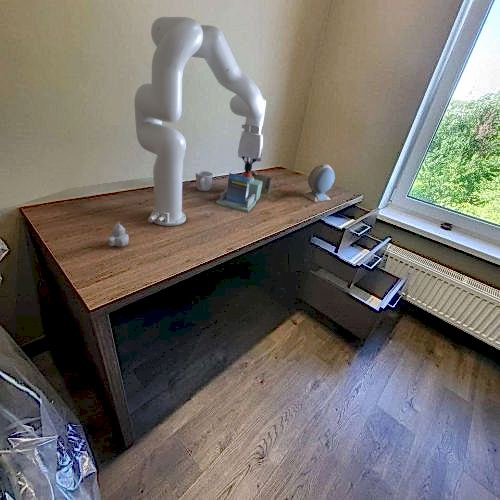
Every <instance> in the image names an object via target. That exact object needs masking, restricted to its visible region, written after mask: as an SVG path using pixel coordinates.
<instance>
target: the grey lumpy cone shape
mask: <svg viewBox="0 0 500 500" xmlns="http://www.w3.org/2000/svg"><path fill="white" fill-rule="evenodd" d="M111 229H112V233H111V234H110V235H109V236H108V237H107V238H106V242H107V243H108V246H109V247H114V246H116V247H118V248H122V247H125V246H127V245H128V244H129V242H130V236H129V235H128V233H126V228H125V227H124V226H123V225H122V224H120V221H118V222H117V223H115V224H114V225H113V227H112V228H111Z"/></svg>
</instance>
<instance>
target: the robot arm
mask: <svg viewBox="0 0 500 500" xmlns="http://www.w3.org/2000/svg"><path fill="white" fill-rule="evenodd" d="M150 34H151V39H152V42H153V44H154V45H155V47H156V48H155V50H154V53H153V56H152V60H151V83H149V82H148V83H144V84H142V85H140V86H139V87H138V89H137V90H136V92H135V96H134V101H133V104H134V119H135V132H136V139H137V142H138V143H139V145H140V147H141V148H142V149H144V150H145V151H147V152H150V153H152V154H153V155H154V154H155V155H156V159H155V161H154V164H153V167H152V168H153V169H152V176H153V200H154V202H153V204H154V209H153V211H152V212H151V213H150V216H149V217H148V218H147V221H148V222H149V223H154V224H156V225H160V226H164V227H176V226H179V225H182V224H183V223H185V222H186V220H187V216H186V214H185V213H184V212H183V170H184V168H183V167H184V160H185V155H186V150H187V141H186V138H185V137H184V135H183V134H182V133H181V132H180V131H179V130H178V129H176V128H173V127H172V126H171V127H170V126H167V125H164V124H163V122H165V123H169V124H173V123H176V122H178V121H179V120H180V118H181V117H182V113H183V78H184V77H183V75H184V70H185V67H186V65H187V62H188V61H189V60H190V59H191V57H192V58H198V59H199V58H200V59H204V61H205V62H206V64H207V65H208V67H209V69H210V70H211V73H212V74H213V76H214V77H215V79H216V81H217V83H218V85H220V86H222V87H223V88H224V89H226V90H228V91H229V92H231V93H233V94H235V95H234V96H232V97H231V98H230V101H229V108H230V111H231V113H233V114H234V115H235V116H239V117H242V118H245V123H244V124H241V129H243V130H242V131H241V135H240V139H239V144H238V149H237V154H238V155H237V157H238V158H240V159H242V161H243V162H244V172H247V173H249V172H250V173H251V171H252V170H253V164H254V163H256V162H257V163H258V162H261V161H262V155H263V148H264V134H263V128H264V121H265V115H266V114H265V113H266V108H267V100H266V98H265V97H263V94H262V92H261V91H260V88H259V87H258V86H257V84H256V83H255V82H254V80H252V79H251V78H250V77H249V76H248V75H247V73H246V72H245V71H243V70H242V69H241V68H240V66H239V65H238V63H237V61H236V58H235V56H234V55H233V52H232V50H231V49H230V45H229V44H228V41H227V40H226V38H225V35H224V34H223V32H222V30H221V29H220V28H219V27H218V26H214V25H208V24H200V23H199V21H197V20H195V19H194V18H191V17H186V16H159V17H158V18H156V19H155V20H154V21H153V23H152V25H151V29H150Z"/></svg>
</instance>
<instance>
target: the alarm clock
mask: <svg viewBox="0 0 500 500" xmlns="http://www.w3.org/2000/svg"><path fill="white" fill-rule="evenodd" d="M335 176H336V174H335V171H334V169H333V168H332V167H331V165H329V164H327V163H321V164H320V165H317V166H315V167H313V169H312V170H311V171H310V173H309V176H308V179H307V183H308V186H309V188H310V190H311V191H309V192H306V193H303V194H301V195H302V196H303V197H305V198H307V199H310V200H311V201H312V202H315V203H317V202H324V201H325V202H326V201H331V200H332V199H331V198H330V197H329V196H328V195H327V194H326V193H327V192H328V191H329V190H330V189H331V188H332V187H333V184H334V182H335V178H336V177H335Z"/></svg>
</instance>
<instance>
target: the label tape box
mask: <svg viewBox="0 0 500 500" xmlns="http://www.w3.org/2000/svg"><path fill="white" fill-rule="evenodd" d="M240 175H241V174H235V173H233V172H229V173H228V178H227V188H226V190H227V199H226V200H229V201H233V202H237V203H241V204H245V203H246V200H247V198H248V190H249V184H248V183H247V182H248V177H244V176H240ZM235 177H236V178H238V177H239V178H240V179H241V180H238V179H235Z"/></svg>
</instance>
